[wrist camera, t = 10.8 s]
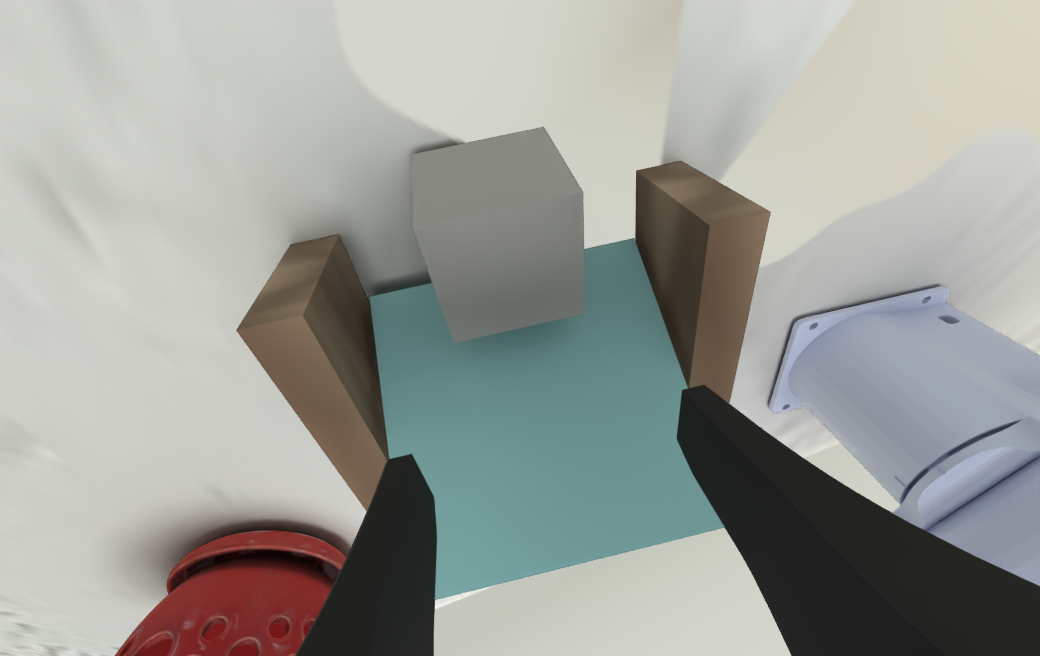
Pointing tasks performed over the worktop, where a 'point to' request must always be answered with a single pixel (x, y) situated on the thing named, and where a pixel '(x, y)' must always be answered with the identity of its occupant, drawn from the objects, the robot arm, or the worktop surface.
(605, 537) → the hatch flap
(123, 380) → the worktop surface
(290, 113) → the worktop surface
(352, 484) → the hatch stand
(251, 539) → the plant pot
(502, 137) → the granite block
